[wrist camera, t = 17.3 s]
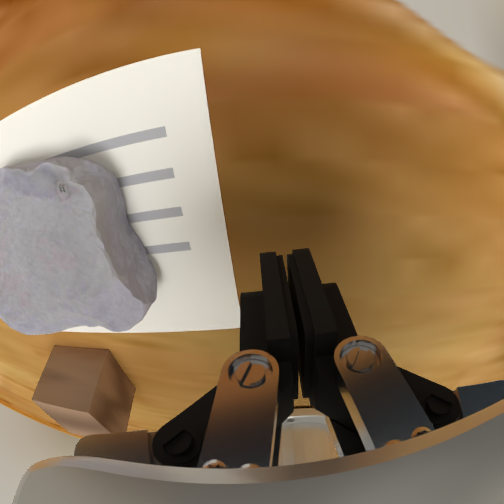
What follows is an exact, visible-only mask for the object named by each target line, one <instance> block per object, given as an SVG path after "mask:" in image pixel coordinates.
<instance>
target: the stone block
mask: <svg viewBox="0 0 504 504" xmlns="http://www.w3.org/2000/svg"><path fill="white" fill-rule="evenodd" d="M156 298H157V274H156V272H155V269H154V267H153V265H152V263H151V261H150V260H149V258H148V257H147V253H146V249H145V247H144V245H143V243H142V242H141V240H140V239H139V237H138V236H137V235H136V233H135V232H134V230H133V229H132V227H131V225H130V223H129V220H128V216H127V211H126V207H125V202H124V198H123V194H122V192H121V189H120V186H119V183H118V180H117V178H116V176H115V174H114V173H113V172H111V171H109V170H107V169H106V168H105V167H103V166H101V165H100V164H98V163H96V162H93V161H91V160H87V159H78V158H74V157H67V156H64V157H54V158H50V159H46V160H43V161H37V162H33V163H19V164H17V165H15V166H5V167H3V168H0V318H1V319H2V320H3V321H4V322H5V323H6V324H7V325H8V326H9V327H11V328H12V329H14V330H16V331H18V332H20V333H23V334H26V335H40V334H49V333H56V332H60V331H63V330H66V329H69V328H73V327H78V326H88V327H96V326H101V327H104V328H106V329H108V330H110V331H113V332H122V331H127V330H130V329H131V328H132V327H134V326H135V325H136V324H138V323H139V322H140V321H142V320H143V318H144V317H145V315H146V313H147V312H148V310H149V308H150V306H151V305H152V304H153V303H154V302H155V300H156Z"/></svg>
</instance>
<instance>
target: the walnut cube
mask: <svg viewBox="0 0 504 504" xmlns="http://www.w3.org/2000/svg"><path fill="white" fill-rule="evenodd" d="M135 389H136V388H135V387H134V385H133V384H132V383H131V381H130V380H129V379H128V377H127V376H126V374H125V373H124V372H123V370H122V369H121V367H120V366H119V364H118V363H117V361H116V360H115V358H114V357H113V355H112V354H111V352H110V351H109V349H96V348H80V347H68V346H57V345H55V346H54V348H53V350H52V352H51V355H50V357H49V359H48V361H47V363H46V366H45V368H44V370H43V373H42V375H41V377H40V380H39V382H38V385H37V387H36V390H35V392H34V395H33V397H32V400H33V401H34V402H35V403H36V404H37V405H38V406H39V407H40V408H41V409H42V410H43V411H45V412H46V413H47V414H48V415H49V416H50V417H51V418H53V419H54V420H55V421H56V422H57V423H59V424H60V425H61V426H62V427H64V428H65V429H66V430H67V431H69V432H70V433H74V434H78V435H82V436H88V435H92V434H109V433H122V432H126V431H127V426H128V421H129V416H130V412H131V407H132V402H133V398H134V393H135Z"/></svg>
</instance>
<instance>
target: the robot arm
mask: <svg viewBox="0 0 504 504" xmlns="http://www.w3.org/2000/svg"><path fill="white" fill-rule="evenodd" d="M260 263H261V274H262V286H263V291H257V292H247V293H241V297H240V352H237V353H236V354H234V355H232V356H231V357H230V358H229V359H228V360H227V361H226V362H225V363H224V366H223V368H222V371H221V375H220V378H219V382H218V385H217V386H215V387H214V388H213V389H212V390H210V391H209V392H208V393H207V394H205V395H204V396H203V397H201V398H200V399H199V400H197V401H196V402H195V403H194V404H192V405H191V406H190V407H188V408H187V409H186V410H184V411H183V412H182V413H180V414H179V415H177V416H176V417H175V418H173V419H172V420H171V421H169V422H168V423H166V424H165V425H164V426H162V427H161V428H160V429H159V430H158V431H156V432H149V431H148V430H141V431H132V432H122V433H109V434H92V435H88V436H85V437H83V438H82V439H80V440H79V442H78V443H77V445H76V447H75V451H74V456H62V457H55V458H50V459H46V460H43V461H40V462H37V463H35V464H34V465H32V466H31V467H30V468H29V469H28V470H27V471H26V472H25V474H24V475H23V477H22V479H21V481H20V483H19V486H18V488H17V491H16V494H15V496H14V500H13V503H12V504H504V380H499V381H494V382H488V383H482V384H476V385H470V386H463V387H457V388H456V390H455V391H451V390H450V389H448V388H446V387H444V386H442V385H439V384H437V383H435V382H432V381H430V380H428V379H425V378H423V377H421V376H418V375H416V374H414V373H411V372H409V371H407V370H404V369H402V368H400V367H398V366H396V364H395V363H394V361H393V360H392V358H391V356H390V355H389V353H388V352H387V350H386V349H385V347H384V346H383V345H382V344H381V343H380V342H378V341H377V340H375V339H373V338H370V337H367V336H357V333H356V330H355V328H354V325H353V323H352V320H351V318H350V315H349V313H348V310H347V308H346V305H345V303H344V300H343V298H342V296H341V293H340V291H339V288H338V286H337V284H336V283H328V284H322V283H321V280H320V277H319V275H318V272H317V269H316V266H315V264H314V261H313V258H312V256H311V253H310V250H309V248H306V249H296V250H293V251H292V254H289V255H287V269H288V281H287V276H286V271H285V266H284V261H283V257H282V255H279V256H276V252H267V253H260ZM298 372H299V376H300V383H301V389H302V395H303V398H309V400H310V405H311V406H314V407H315V408H297V409H294V399H298ZM334 444H335V445H334ZM335 447H336V450H337V452H338V455H339V458H337V456H336V451H335Z"/></svg>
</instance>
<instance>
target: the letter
mask: <svg viewBox="0 0 504 504" xmlns="http://www.w3.org/2000/svg"><path fill="white" fill-rule="evenodd" d="M64 156H67V157H74V158H78V159H87V160H91V161H93V162H96V163H98V164H100V165H101V166H103V167H105V168H106V169H107V170H109V171H111V172H113V173H114V174H115V176H116V178H117V180H118V183H119V186H120V189H121V192H122V194H123V198H124V202H125V207H126V211H127V216H128V220H129V223H130V225H131V227H132V229H133V230H134V232H135V233H136V235H137V236H138V237H139V239H140V240H141V242H142V243H143V245H144V247H145V249H146V253H147V257H148V258H149V260H150V261H151V263H152V265H153V267H154V269H155V272H156V274H157V298H156V300H155V302H154V303H153V304H152V305H151V306H150V308H149V310H148V312H147V313H146V315H145V317H144V318H143V320H142V321H140V322H139V323H138V324H136V325H135V326H134V327H132V328H131V329H130V330H127V331H122V332H113V331H110V330H108V329H106V328H104V327H101V326H96V327H88V326H78V327H73V328H69V329H66V330H63V331H67V332H104V333H140V332H179V331H200V330H218V329H232V328H240V306H239V300H238V294H237V289H236V283H235V277H234V271H233V265H232V259H231V254H230V247H229V241H228V235H227V229H226V223H225V217H224V211H223V204H222V198H221V191H220V185H219V178H218V172H217V165H216V158H215V152H214V145H213V138H212V131H211V124H210V117H209V110H208V102H207V95H206V88H205V80H204V72H203V65H202V57H201V49H200V48H198V49H193V50H187V51H182V52H177V53H173V54H168V55H164V56H159V57H155V58H151V59H147V60H144V61H140V62H136V63H133V64H129V65H126V66H123V67H120V68H117V69H113V70H110V71H107V72H104V73H102V74H99V75H96V76H93V77H91V78H88V79H85V80H83V81H80V82H78V83H75V84H73V85H70V86H68V87H66V88H63V89H61V90H59V91H57V92H54V93H52V94H50V95H48V96H46V97H44V98H42V99H40V100H38V101H36V102H34V103H32V104H30V105H28V106H26V107H24V108H22V109H20V110H19V111H17V112H15V113H13V114H11V115H10V116H8V117H6V118H5V119H3V120H1V121H0V168H3V167H5V166H15V165H17V164H19V163H33V162H37V161H43V160H46V159H50V158H54V157H64Z"/></svg>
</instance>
